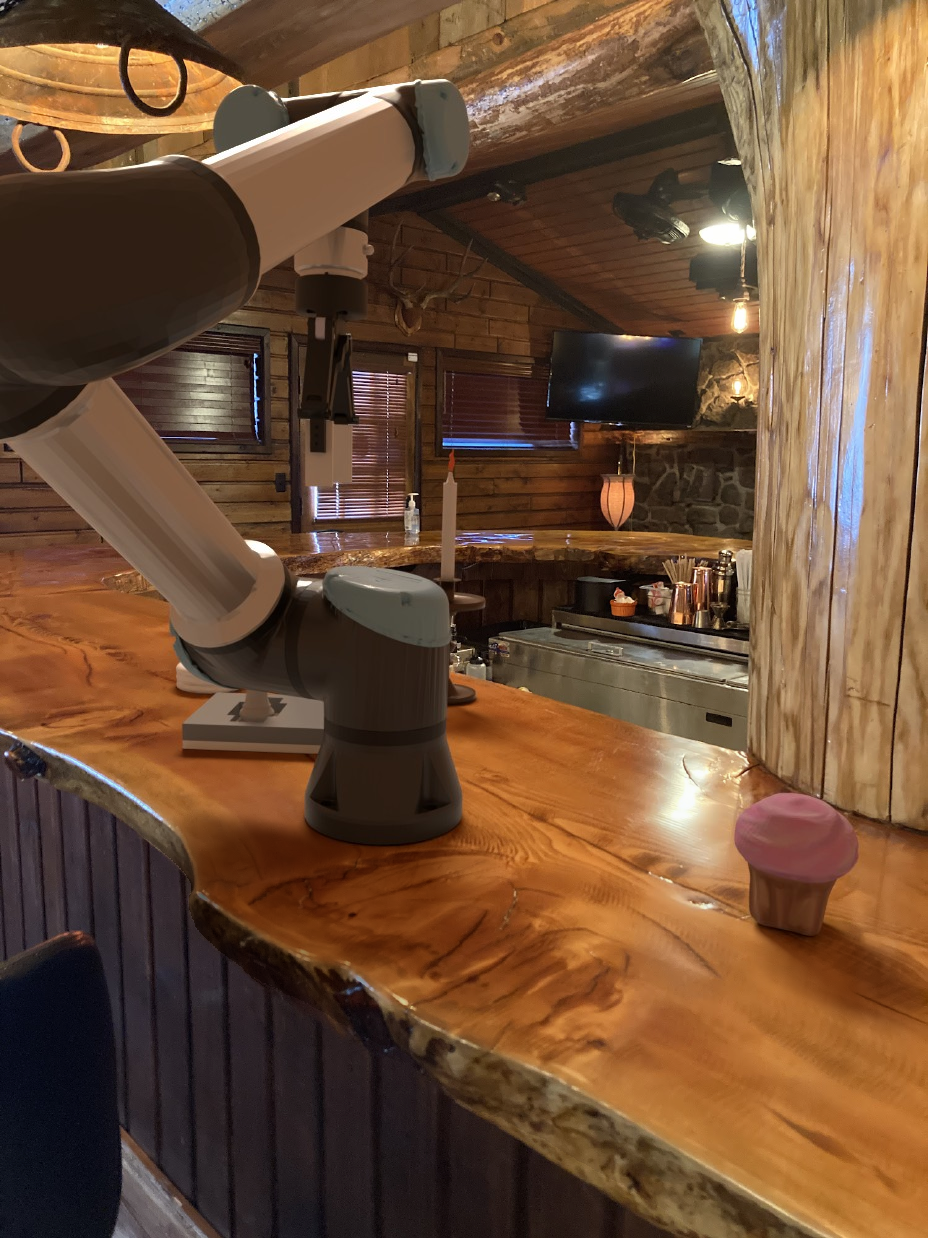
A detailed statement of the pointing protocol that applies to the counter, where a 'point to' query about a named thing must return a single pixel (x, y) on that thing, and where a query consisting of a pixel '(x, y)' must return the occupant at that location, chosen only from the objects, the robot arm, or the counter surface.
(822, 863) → the cupcake
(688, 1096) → the counter surface
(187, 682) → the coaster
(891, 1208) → the counter surface
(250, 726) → the grey panel with recess
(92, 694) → the counter surface
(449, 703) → the candlestick
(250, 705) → the rook chess piece
